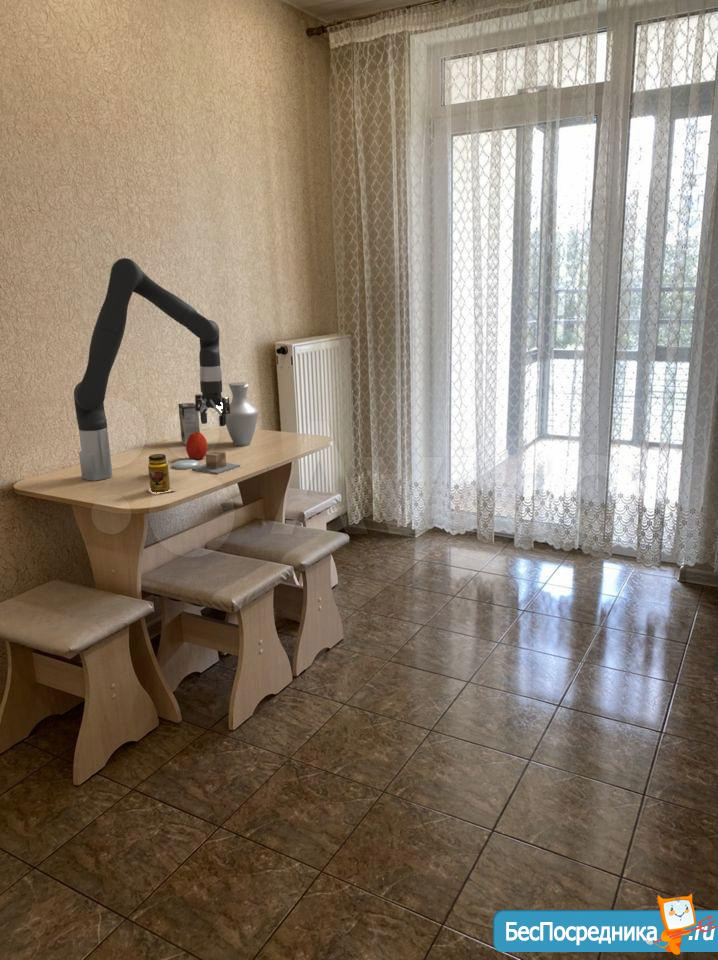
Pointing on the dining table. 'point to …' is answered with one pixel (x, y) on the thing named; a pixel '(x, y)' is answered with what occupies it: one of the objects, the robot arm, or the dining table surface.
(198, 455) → the red egg
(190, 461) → the saucer
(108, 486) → the dining table surface
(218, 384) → the robot arm
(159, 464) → the condiment
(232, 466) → the slate pad
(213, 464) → the walnut block
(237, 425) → the vase
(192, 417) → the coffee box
